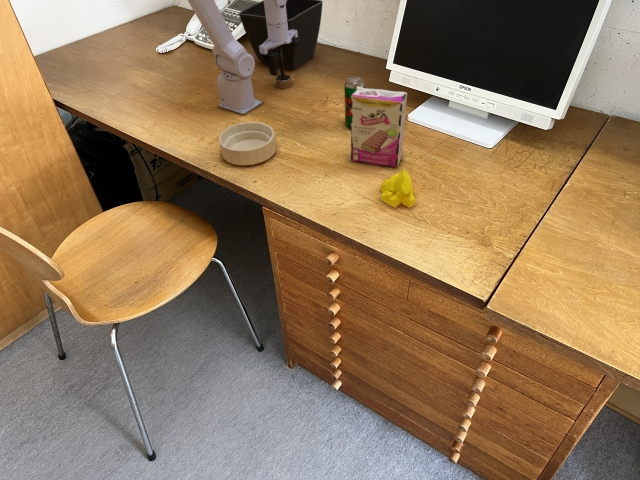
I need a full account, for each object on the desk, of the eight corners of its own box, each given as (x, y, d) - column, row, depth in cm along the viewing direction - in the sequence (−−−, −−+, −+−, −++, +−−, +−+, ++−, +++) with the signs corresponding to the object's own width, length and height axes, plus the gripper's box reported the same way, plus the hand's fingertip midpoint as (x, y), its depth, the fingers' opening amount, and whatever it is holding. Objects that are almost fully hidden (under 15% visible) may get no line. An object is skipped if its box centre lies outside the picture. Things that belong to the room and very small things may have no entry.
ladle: (273, 86, 142) (268, 48, 134) (282, 81, 144) (278, 43, 137) (284, 89, 140) (280, 51, 132) (294, 84, 142) (290, 46, 135)
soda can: (363, 130, 120) (363, 85, 112) (343, 129, 121) (342, 84, 113) (366, 120, 124) (366, 76, 116) (346, 119, 125) (346, 75, 117)
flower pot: (245, 67, 153) (236, 11, 142) (279, 46, 165) (273, -7, 153) (294, 77, 145) (289, 20, 134) (326, 55, 157) (324, 0, 146)
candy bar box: (350, 162, 110) (349, 95, 99) (356, 150, 114) (356, 85, 102) (397, 169, 107) (402, 101, 96) (402, 157, 111) (407, 90, 99)
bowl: (211, 157, 115) (207, 140, 112) (247, 132, 123) (244, 117, 119) (251, 173, 109) (248, 156, 106) (287, 147, 116) (285, 130, 113)
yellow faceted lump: (392, 183, 103) (394, 153, 98) (421, 200, 99) (424, 168, 93) (373, 195, 101) (374, 164, 95) (402, 212, 96) (404, 181, 91)
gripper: (270, 32, 124) (276, 82, 133) (304, 15, 132) (308, 63, 141) (250, 28, 127) (258, 77, 136) (284, 11, 135) (289, 59, 144)
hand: (282, 70), depth 139 cm, fingers open, 7 cm apart
